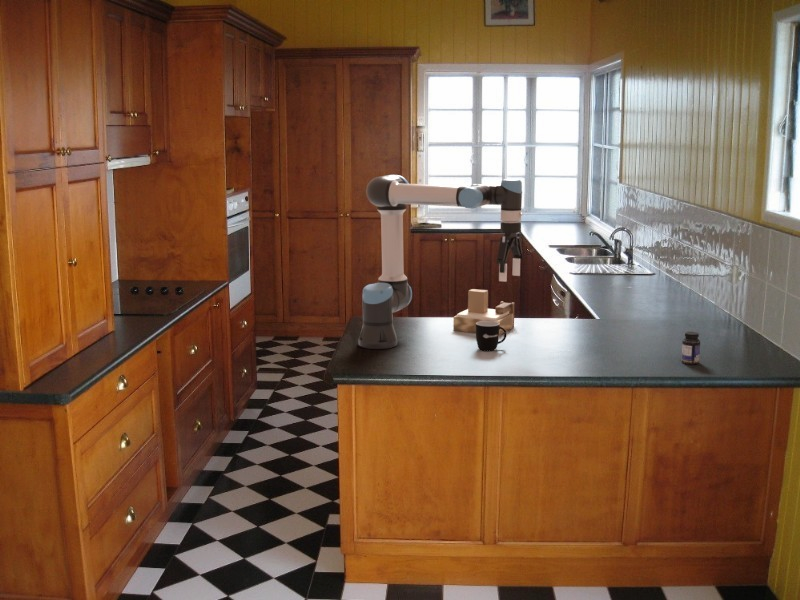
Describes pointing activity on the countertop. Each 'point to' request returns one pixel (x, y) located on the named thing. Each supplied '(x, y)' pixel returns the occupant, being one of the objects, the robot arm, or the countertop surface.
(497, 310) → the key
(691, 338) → the pill bottle
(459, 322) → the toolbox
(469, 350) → the countertop surface
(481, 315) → the lid
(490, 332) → the mug
